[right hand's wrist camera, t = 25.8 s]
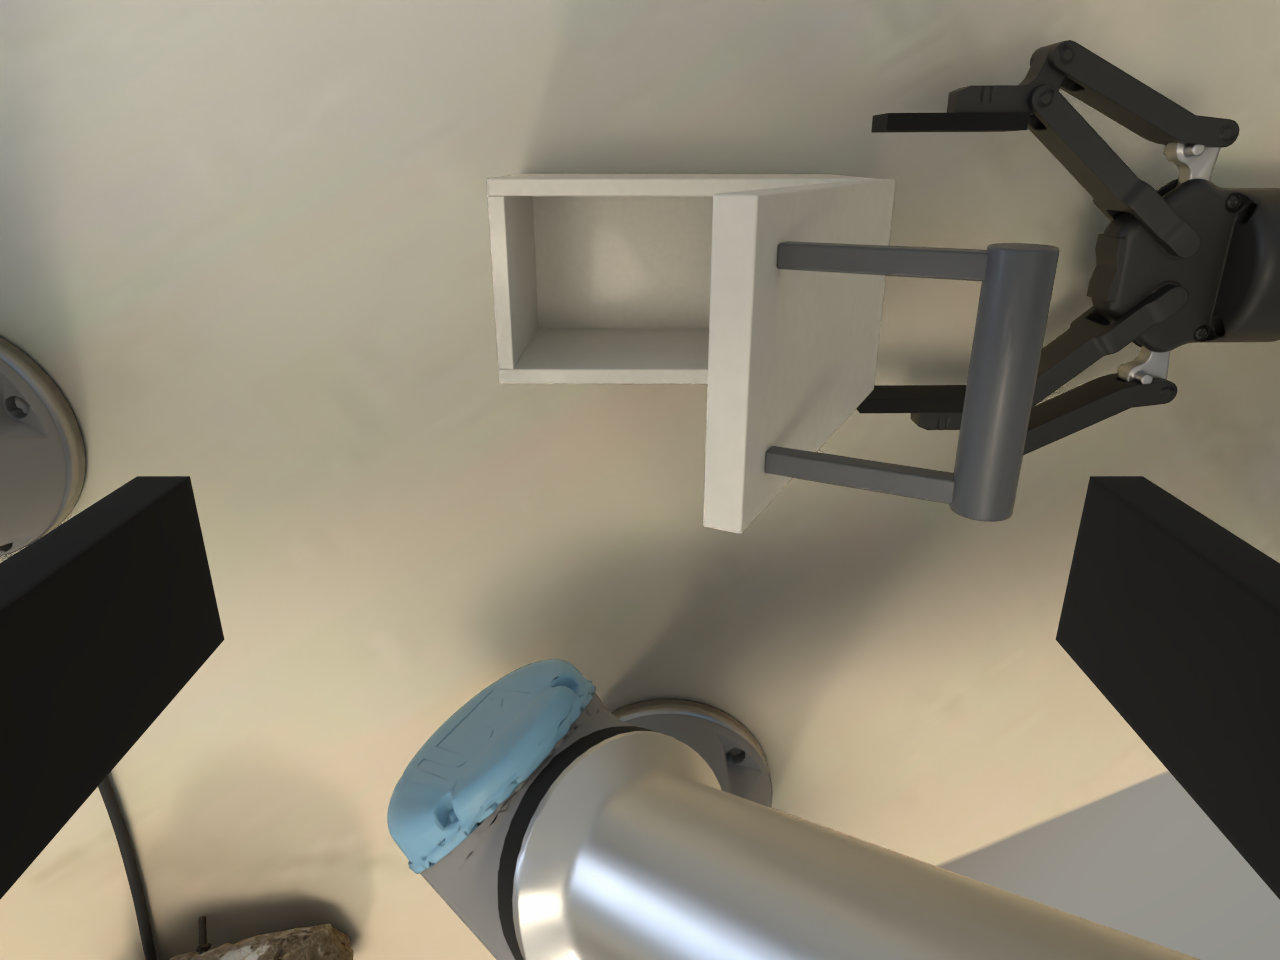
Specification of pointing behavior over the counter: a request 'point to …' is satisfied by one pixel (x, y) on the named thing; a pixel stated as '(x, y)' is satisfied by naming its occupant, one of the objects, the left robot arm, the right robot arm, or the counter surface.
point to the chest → (608, 273)
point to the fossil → (278, 945)
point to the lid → (852, 349)
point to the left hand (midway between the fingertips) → (865, 269)
